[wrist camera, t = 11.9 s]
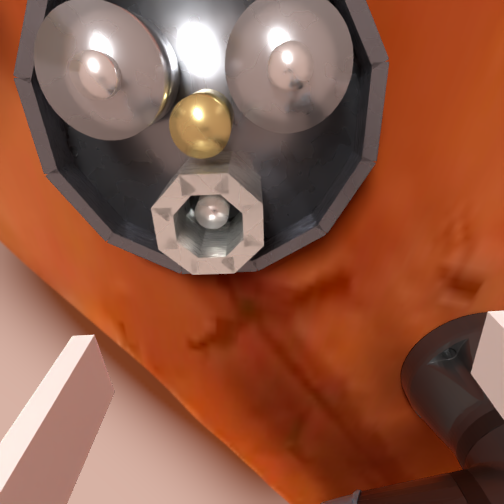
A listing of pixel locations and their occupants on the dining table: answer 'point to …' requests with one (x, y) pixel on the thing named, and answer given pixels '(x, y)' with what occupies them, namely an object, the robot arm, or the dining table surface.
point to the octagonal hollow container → (203, 239)
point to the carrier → (203, 108)
